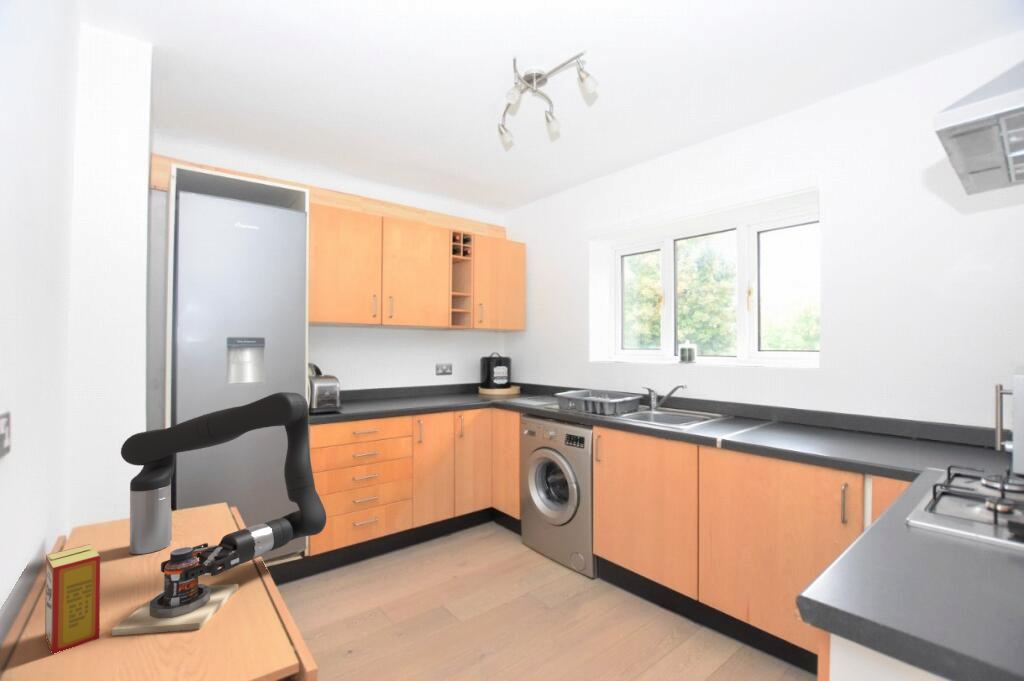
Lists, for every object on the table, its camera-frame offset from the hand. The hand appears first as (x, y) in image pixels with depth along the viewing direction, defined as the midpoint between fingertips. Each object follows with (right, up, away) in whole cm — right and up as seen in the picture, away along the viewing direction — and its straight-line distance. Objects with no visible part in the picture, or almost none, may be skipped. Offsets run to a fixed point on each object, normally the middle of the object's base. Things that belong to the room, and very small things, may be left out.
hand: (171, 572), depth 99 cm
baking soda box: (-14, -9, -8) cm, 18 cm away
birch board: (+1, -9, +1) cm, 9 cm away
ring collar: (+1, -8, +1) cm, 8 cm away
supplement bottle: (+1, -8, +1) cm, 8 cm away
